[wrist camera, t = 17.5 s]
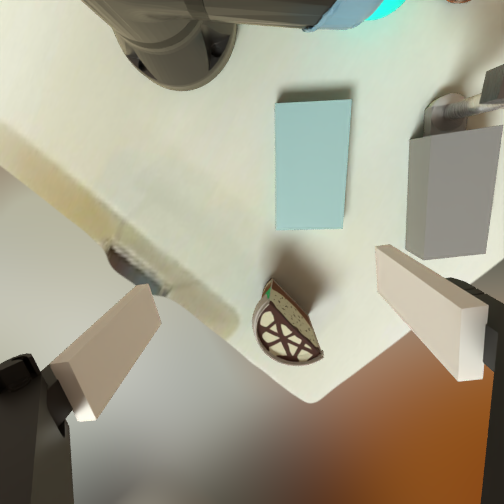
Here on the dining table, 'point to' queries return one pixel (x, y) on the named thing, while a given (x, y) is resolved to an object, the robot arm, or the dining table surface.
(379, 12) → the donuts
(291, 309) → the food container
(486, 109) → the key
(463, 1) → the sauce bottle
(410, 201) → the case
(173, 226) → the dining table surface
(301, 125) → the cover
